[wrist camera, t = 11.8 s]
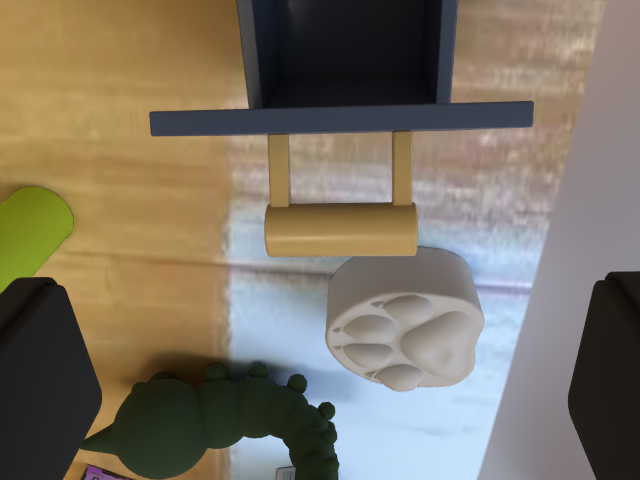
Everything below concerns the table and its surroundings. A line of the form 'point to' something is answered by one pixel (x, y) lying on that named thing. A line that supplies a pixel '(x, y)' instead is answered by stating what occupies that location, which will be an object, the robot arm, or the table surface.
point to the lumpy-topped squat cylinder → (405, 319)
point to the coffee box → (285, 473)
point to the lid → (342, 218)
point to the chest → (347, 52)
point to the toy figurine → (217, 423)
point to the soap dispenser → (30, 231)
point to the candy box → (100, 474)
